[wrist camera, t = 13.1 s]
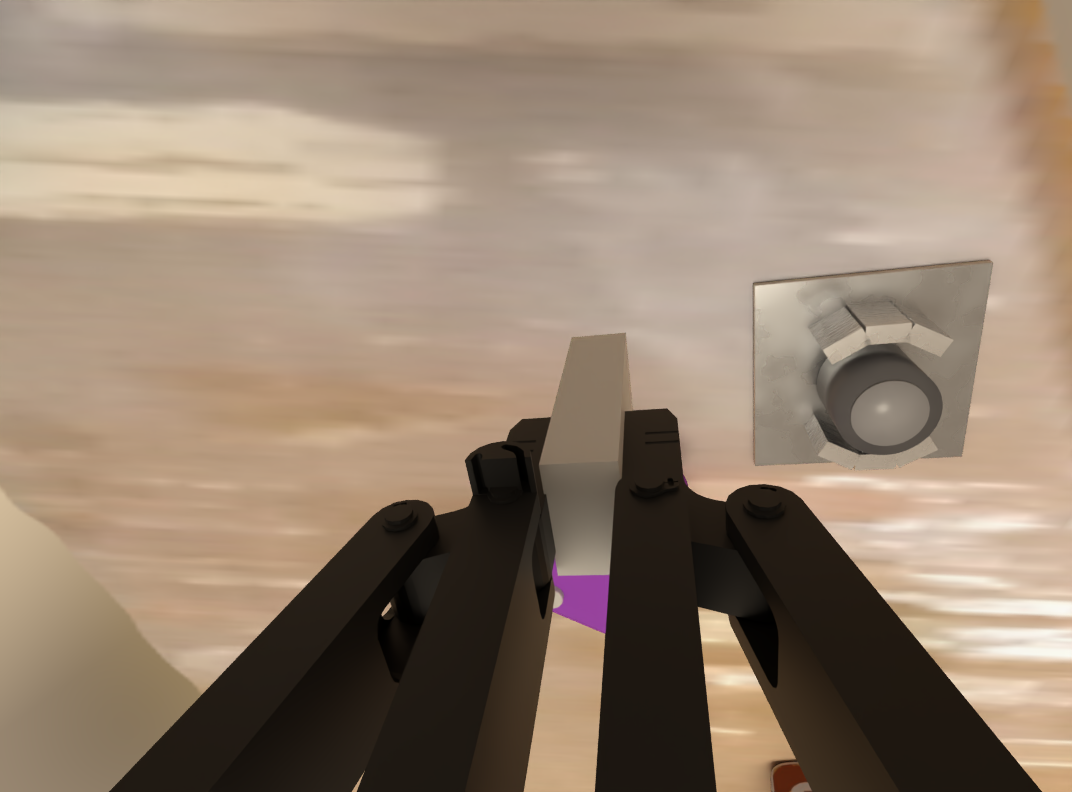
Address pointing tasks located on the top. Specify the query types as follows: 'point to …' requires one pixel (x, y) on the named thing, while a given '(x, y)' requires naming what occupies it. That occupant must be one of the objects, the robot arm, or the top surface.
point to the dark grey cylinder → (880, 399)
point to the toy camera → (582, 597)
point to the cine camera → (788, 778)
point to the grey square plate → (847, 326)
